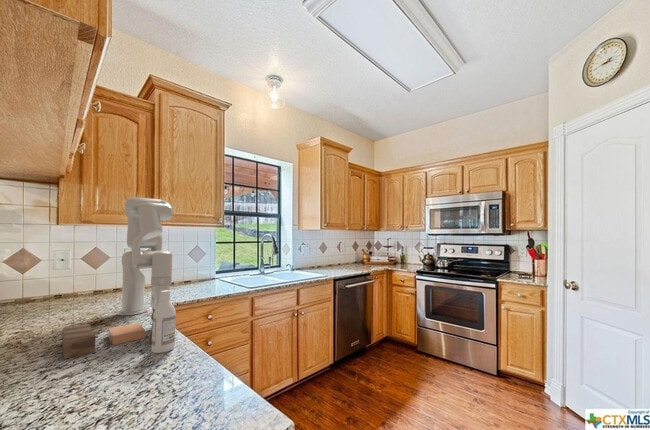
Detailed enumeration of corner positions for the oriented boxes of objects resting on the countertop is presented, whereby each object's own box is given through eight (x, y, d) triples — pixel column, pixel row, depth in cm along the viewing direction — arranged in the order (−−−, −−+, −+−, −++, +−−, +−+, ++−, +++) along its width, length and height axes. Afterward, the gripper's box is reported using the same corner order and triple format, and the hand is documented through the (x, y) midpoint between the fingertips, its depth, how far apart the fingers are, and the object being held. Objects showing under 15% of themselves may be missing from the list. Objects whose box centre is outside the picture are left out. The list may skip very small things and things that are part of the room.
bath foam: (178, 345, 100) (180, 288, 102) (167, 353, 93) (170, 292, 95) (158, 345, 100) (161, 289, 101) (146, 353, 93) (149, 292, 94)
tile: (108, 337, 110) (108, 328, 110) (138, 331, 116) (138, 322, 117) (112, 346, 101) (112, 336, 101) (144, 338, 108) (145, 329, 108)
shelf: (61, 343, 103) (62, 328, 103) (88, 337, 108) (89, 323, 108) (64, 358, 89) (65, 341, 90) (94, 351, 95) (95, 335, 95)
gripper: (145, 280, 122) (144, 320, 120) (157, 284, 110) (155, 329, 108) (165, 278, 127) (163, 316, 126) (177, 281, 115) (176, 324, 113)
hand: (160, 322), depth 117 cm, fingers open, 9 cm apart
